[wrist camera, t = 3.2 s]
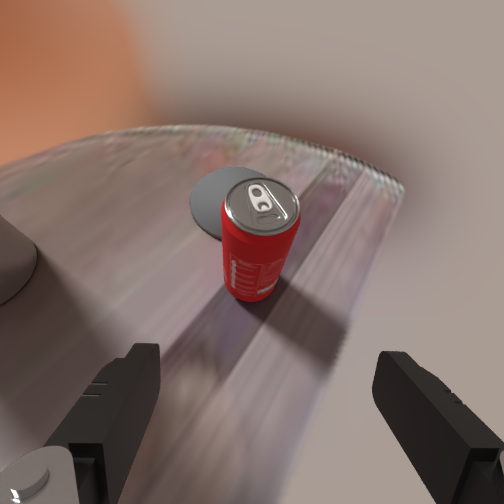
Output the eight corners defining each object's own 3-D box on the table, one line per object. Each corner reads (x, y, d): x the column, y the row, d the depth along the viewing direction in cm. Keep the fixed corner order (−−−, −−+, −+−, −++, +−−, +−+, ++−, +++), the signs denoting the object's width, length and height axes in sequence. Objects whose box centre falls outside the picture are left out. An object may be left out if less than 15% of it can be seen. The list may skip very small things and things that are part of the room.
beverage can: (233, 312, 24) (235, 248, 14) (218, 266, 27) (210, 181, 16) (282, 296, 26) (318, 226, 15) (264, 253, 28) (284, 167, 18)
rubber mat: (173, 194, 31) (172, 190, 30) (244, 160, 35) (245, 156, 34) (225, 259, 27) (225, 255, 27) (299, 212, 31) (301, 208, 30)
